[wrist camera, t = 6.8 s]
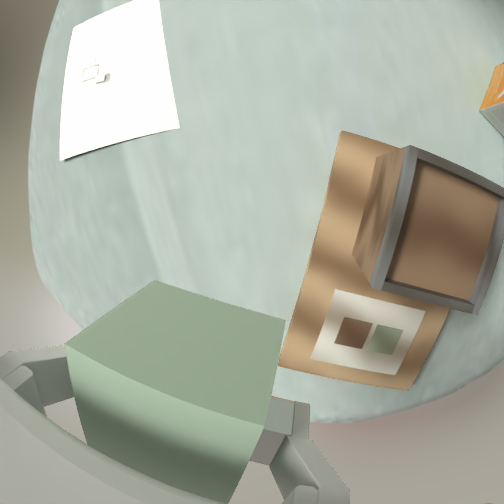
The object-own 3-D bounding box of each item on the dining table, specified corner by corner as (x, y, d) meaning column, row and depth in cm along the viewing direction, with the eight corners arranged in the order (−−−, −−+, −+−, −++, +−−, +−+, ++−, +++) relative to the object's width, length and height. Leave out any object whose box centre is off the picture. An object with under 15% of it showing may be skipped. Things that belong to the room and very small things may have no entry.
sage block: (154, 279, 11) (64, 343, 6) (285, 319, 10) (264, 426, 5) (148, 377, 12) (89, 450, 7) (253, 414, 11) (225, 508, 7)
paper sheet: (80, 16, 26) (76, 14, 25) (279, -25, 22) (278, -30, 21) (55, 162, 31) (50, 162, 30) (275, 149, 28) (274, 148, 27)
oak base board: (339, 134, 25) (359, 103, 15) (477, 184, 23) (542, 190, 13) (279, 355, 31) (265, 425, 21) (404, 380, 29) (428, 444, 19)
